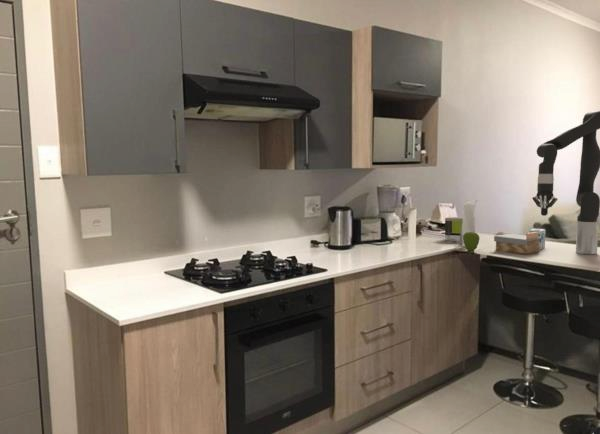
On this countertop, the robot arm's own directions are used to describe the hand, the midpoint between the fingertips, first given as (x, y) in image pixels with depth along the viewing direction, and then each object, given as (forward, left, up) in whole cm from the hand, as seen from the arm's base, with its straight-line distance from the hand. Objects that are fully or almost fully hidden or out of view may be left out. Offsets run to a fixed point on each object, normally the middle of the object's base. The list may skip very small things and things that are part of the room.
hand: (544, 215), depth 267 cm
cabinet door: (+14, 0, -16) cm, 21 cm away
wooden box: (+14, 0, -21) cm, 26 cm away
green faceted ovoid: (+30, +20, -21) cm, 42 cm away
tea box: (+60, -10, -21) cm, 65 cm away
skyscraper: (+42, +5, -22) cm, 48 cm away
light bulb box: (+13, -18, -21) cm, 31 cm away
